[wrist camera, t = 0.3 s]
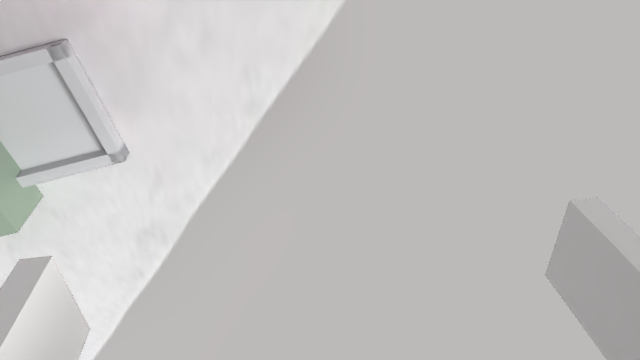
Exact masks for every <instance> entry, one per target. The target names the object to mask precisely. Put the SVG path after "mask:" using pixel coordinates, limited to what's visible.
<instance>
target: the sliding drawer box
mask: <svg viewBox="0 0 640 360" xmlns="http://www.w3.org/2000/svg"><path fill="white" fill-rule="evenodd" d="M128 154H129V151H128V149H127V147H126V145H125V144H124V142H123V140H122V138H121V136H120V135H119V133H118V131H117V129H116V127H115V125H114V124H113V122H112V120H111V118H110V116H109V114H108V113H107V111H106V109H105V107H104V105H103V104H102V102H101V100H100V98H99V96H98V94H97V93H96V91H95V89H94V87H93V85H92V84H91V82H90V80H89V78H88V76H87V74H86V73H85V71H84V69H83V67H82V65H81V63H80V62H79V60H78V58H77V56H76V54H75V53H74V51H73V49H72V47H71V45H70V43H69V42H68V40H67V39H65V40H61V41H57V42H54V43H50V44H46V45H42V46H39V47H35V48H31V49H27V50H24V51H20V52H16V53H13V54H9V55H5V56H1V57H0V237H1V236H5V235H9V234H13V233H16V232H18V231H19V230H20V228H21V227H22V226H23V224H24V223H25V221H26V220H27V219H28V217H29V216H30V214H31V213H32V212H33V210H34V209H35V207H36V206H37V204H38V203H39V202H40V200H41V199H42V197H43V195H42V194H41V192H40V191H39V189H38V188H37V187H36V185H35V184H39V183H43V182H47V181H51V180H55V179H59V178H63V177H66V176H70V175H74V174H78V173H82V172H86V171H90V170H94V169H97V168H101V167H105V166H109V165H113V164H117V163H121V162H125V160H126V158H127V156H128Z"/></svg>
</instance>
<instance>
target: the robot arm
mask: <svg viewBox="0 0 640 360" xmlns="http://www.w3.org/2000/svg"><path fill="white" fill-rule="evenodd" d="M545 276H546V277H547V279H548V280H549V281H550V283H551V284H552V285H553V287H554V288H555V289H556V291H557V292H558V293H559V295H560V296H561V298H562V299H563V300H564V302H565V303H566V305H567V306H568V307H569V309H570V310H571V311H572V313H573V314H574V315H575V317H576V318H577V319H578V321H579V322H580V324H581V325H582V326H583V328H584V329H585V330H586V332H587V333H588V335H589V336H590V337H591V339H592V340H593V341H594V343H595V344H596V346H597V347H598V348H599V350H600V351H601V352H602V354H603V355H604V357H605V358H606V359H607V360H640V236H639V235H638V234H637V233H636V232H635V231H633V230H632V229H631V228H630V227H629V226H628V225H627V224H626V223H625V222H624V221H623V220H622V219H621V218H619V217H618V216H617V215H616V214H615V213H614V212H613V211H612V210H611V209H610V208H609V207H608V206H606V205H605V204H604V203H603V202H602V201H601V200H600V199H599V198H598V197H594V198H585V199H576V200H570V201H569V203H568V207H567V210H566V213H565V216H564V219H563V222H562V225H561V228H560V231H559V234H558V237H557V240H556V243H555V246H554V249H553V252H552V255H551V258H550V262H549V265H548V268H547V271H546V274H545ZM89 331H90V328H89V326H88V324H87V322H86V320H85V318H84V316H83V314H82V313H81V311H80V309H79V307H78V305H77V303H76V301H75V299H74V297H73V295H72V293H71V291H70V289H69V287H68V285H67V284H66V282H65V280H64V278H63V276H62V274H61V272H60V270H59V268H58V266H57V264H56V262H55V260H54V258H53V256H47V257H37V258H28V259H19V261H18V262H17V264H16V266H15V267H14V269H13V270H12V272H11V273H10V275H9V276H8V278H7V279H6V281H5V283H4V284H3V286H2V287H1V289H0V360H78V359H79V357H80V354H81V352H82V349H83V346H84V344H85V341H86V339H87V336H88V333H89Z"/></svg>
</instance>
